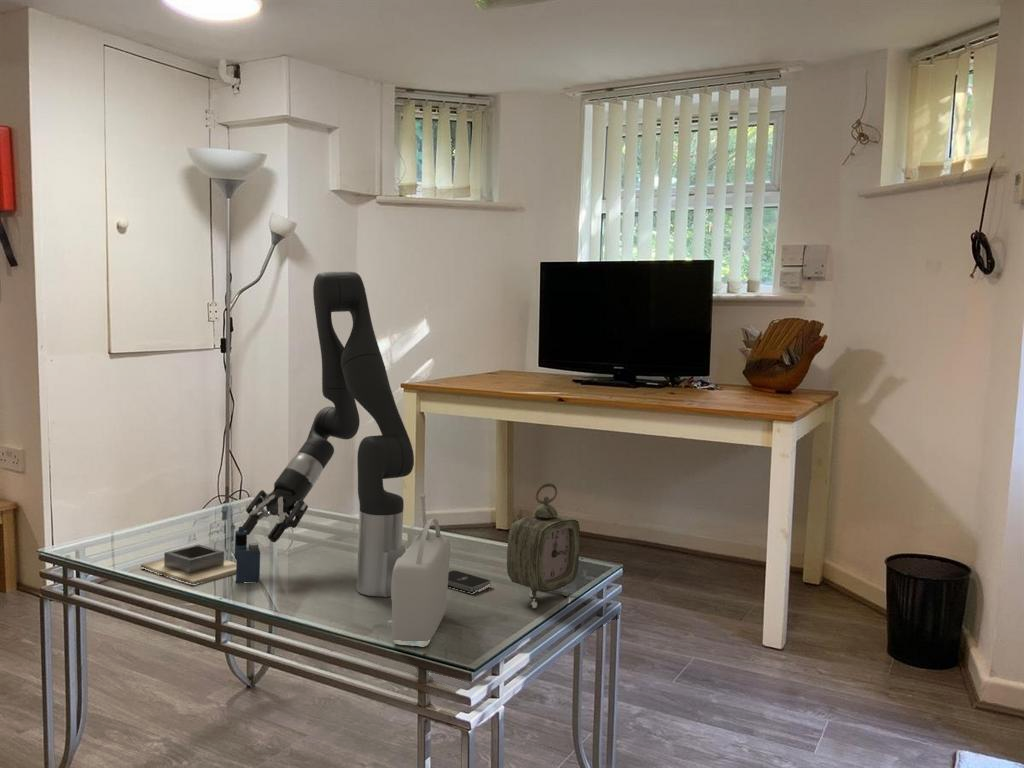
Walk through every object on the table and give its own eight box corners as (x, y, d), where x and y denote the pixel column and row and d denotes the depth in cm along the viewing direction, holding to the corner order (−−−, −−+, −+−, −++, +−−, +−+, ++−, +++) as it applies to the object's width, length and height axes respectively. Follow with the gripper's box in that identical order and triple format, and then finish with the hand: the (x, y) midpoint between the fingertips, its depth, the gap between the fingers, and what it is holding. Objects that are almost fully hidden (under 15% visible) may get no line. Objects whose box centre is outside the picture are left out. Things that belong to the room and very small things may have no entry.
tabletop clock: (534, 613, 160) (541, 491, 158) (501, 602, 166) (506, 483, 164) (577, 597, 171) (583, 482, 169) (544, 586, 177) (549, 476, 175)
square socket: (223, 564, 179) (223, 551, 178) (189, 574, 171) (189, 560, 171) (198, 557, 183) (198, 544, 183) (164, 565, 176) (164, 552, 176)
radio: (408, 607, 160) (412, 485, 159) (448, 610, 160) (453, 487, 158) (380, 650, 139) (385, 509, 137) (426, 654, 138) (432, 513, 136)
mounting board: (246, 570, 178) (246, 566, 178) (192, 586, 167) (192, 581, 167) (195, 555, 188) (195, 550, 188) (140, 568, 176) (140, 564, 176)
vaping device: (233, 580, 171) (234, 525, 171) (259, 578, 173) (260, 524, 172) (233, 584, 169) (235, 528, 168) (259, 582, 171) (261, 527, 170)
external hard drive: (471, 597, 169) (471, 587, 169) (432, 585, 176) (433, 576, 176) (491, 589, 175) (491, 580, 175) (453, 578, 182) (453, 569, 181)
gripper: (268, 462, 183) (226, 521, 174) (313, 471, 175) (270, 533, 167) (285, 482, 188) (245, 539, 179) (329, 491, 180) (289, 552, 172)
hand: (257, 536), depth 173 cm, fingers open, 8 cm apart
